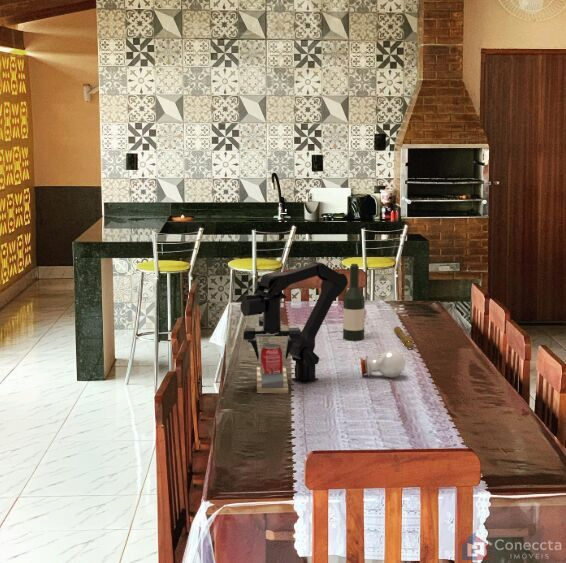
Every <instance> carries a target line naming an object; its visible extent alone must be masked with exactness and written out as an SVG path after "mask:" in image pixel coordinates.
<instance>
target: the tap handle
mask: <svg viewBox="0 0 566 563" xmlns="http://www.w3.org/2000/svg"><path fill="white" fill-rule="evenodd" d="M393 331H394V333H395V335H396V336H397V335H398V336H399V337H400V338H399V337H398V336H397V337H398V338H399V339H400V343H401V342H402V343H403V344H404V346H406V347H407V348H406V349H408V348H413V349H414V347H415V345H414V341H413V339H412V337H411V336H410V335H406V334H405V332H404V331H403V329H402V328H401V327H400V326H395V327H394V328H393ZM408 341H409V342H408ZM402 343H401V344H402ZM404 346H403V347H404Z"/></svg>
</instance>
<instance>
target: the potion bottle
mask: <svg viewBox="0 0 566 563" xmlns="http://www.w3.org/2000/svg"><path fill="white" fill-rule="evenodd" d="M360 367H361V376H362V377H364V376H365V375H367V376H368V377H370V376H371V375H372V374H373V373H377V372H378V373H379V372H380V373H381V374H382V375H383V376H384V377H385V378H389V377H390V378H389V379H394V378H397V377H399V376H400V375H401V374H403V372H404V371H405V367H406V360H405V357H404V355H403V354H402V353H400V352H399V351H397V350H393V349H388V350H386V351H383V352H382V353H381V354H380V355H379V357H378V358H373V359H371V357H369V356H365V359H363V358H360ZM391 377H392V378H391ZM393 377H394V378H393Z"/></svg>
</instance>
